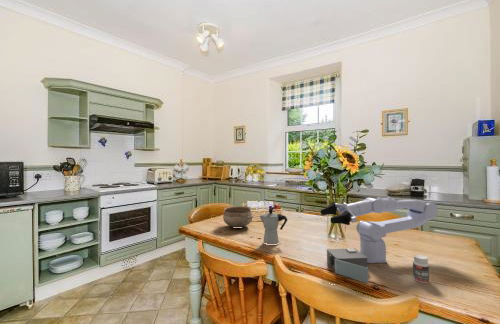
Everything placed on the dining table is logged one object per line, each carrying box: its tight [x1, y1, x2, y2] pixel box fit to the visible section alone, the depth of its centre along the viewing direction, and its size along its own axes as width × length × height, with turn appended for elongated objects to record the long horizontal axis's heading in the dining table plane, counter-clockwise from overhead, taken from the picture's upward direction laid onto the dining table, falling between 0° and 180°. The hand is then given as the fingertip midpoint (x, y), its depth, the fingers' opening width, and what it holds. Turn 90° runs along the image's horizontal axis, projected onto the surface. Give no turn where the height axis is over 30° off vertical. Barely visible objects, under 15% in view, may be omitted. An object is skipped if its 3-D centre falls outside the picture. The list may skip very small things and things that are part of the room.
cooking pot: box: [222, 205, 254, 228], centre depth 157 cm, size 25×19×12 cm
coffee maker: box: [258, 208, 288, 244], centre depth 126 cm, size 15×9×18 cm, turn 83°
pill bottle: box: [412, 254, 430, 284], centre depth 86 cm, size 5×5×8 cm
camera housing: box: [326, 247, 368, 271], centre depth 98 cm, size 13×10×6 cm
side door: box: [334, 259, 369, 283], centre depth 88 cm, size 12×1×5 cm, turn 48°
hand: (325, 216), depth 101 cm, fingers open, 7 cm apart
